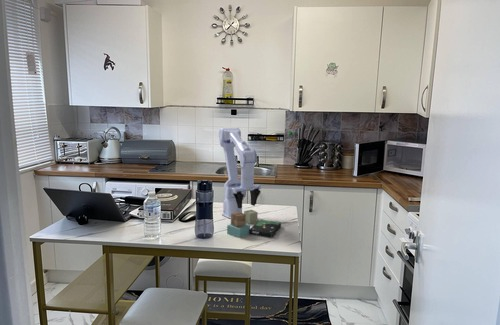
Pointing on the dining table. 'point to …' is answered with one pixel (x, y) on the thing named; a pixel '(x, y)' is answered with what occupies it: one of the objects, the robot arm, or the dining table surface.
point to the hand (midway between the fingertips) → (246, 206)
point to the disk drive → (265, 228)
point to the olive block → (251, 216)
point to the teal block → (238, 230)
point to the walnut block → (238, 219)
